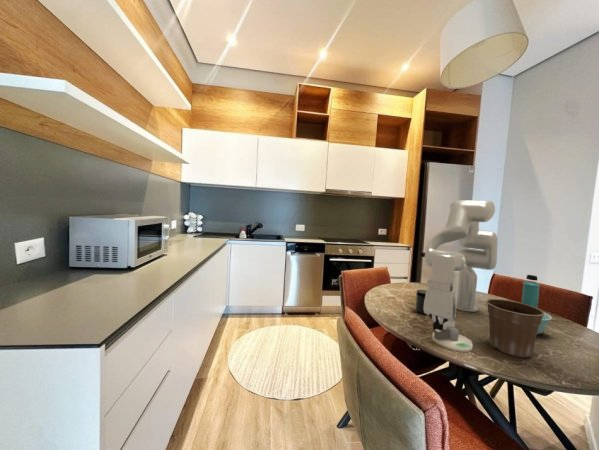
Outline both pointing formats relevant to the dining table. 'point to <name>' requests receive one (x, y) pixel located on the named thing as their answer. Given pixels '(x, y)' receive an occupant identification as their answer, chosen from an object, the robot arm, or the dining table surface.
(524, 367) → the dining table surface
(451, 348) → the dial plate
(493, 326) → the plant pot
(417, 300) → the supplement container
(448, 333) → the friction peg
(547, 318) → the bowl
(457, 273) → the cylindrical container
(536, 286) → the beverage bottle
